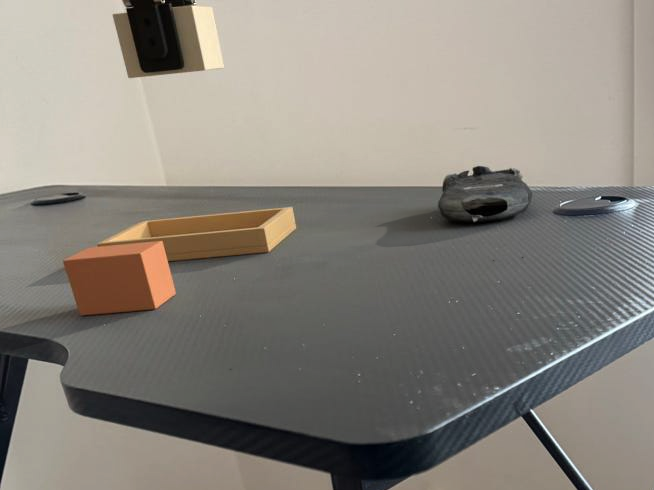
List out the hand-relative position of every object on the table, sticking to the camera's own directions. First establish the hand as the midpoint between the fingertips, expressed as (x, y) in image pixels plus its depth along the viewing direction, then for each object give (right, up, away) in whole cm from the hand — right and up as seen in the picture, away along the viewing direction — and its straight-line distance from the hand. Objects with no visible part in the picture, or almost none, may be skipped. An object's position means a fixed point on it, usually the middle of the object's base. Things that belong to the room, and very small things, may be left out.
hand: (175, 66), depth 71 cm
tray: (-4, -5, +21) cm, 22 cm away
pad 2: (-4, -18, +1) cm, 18 cm away
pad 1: (0, 0, 0) cm, 0 cm away
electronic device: (+24, -1, +24) cm, 34 cm away
